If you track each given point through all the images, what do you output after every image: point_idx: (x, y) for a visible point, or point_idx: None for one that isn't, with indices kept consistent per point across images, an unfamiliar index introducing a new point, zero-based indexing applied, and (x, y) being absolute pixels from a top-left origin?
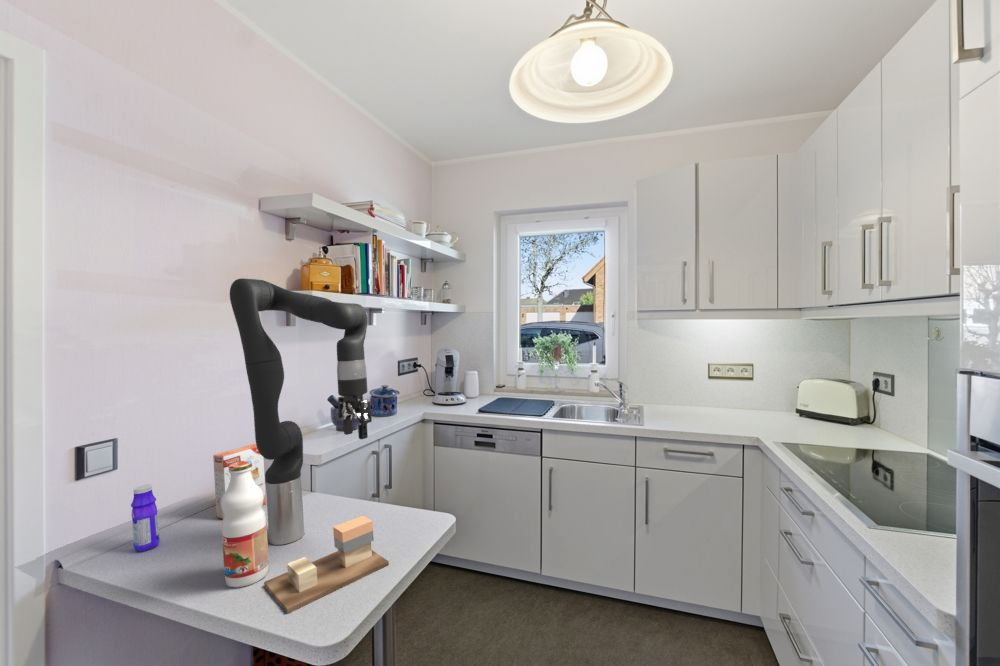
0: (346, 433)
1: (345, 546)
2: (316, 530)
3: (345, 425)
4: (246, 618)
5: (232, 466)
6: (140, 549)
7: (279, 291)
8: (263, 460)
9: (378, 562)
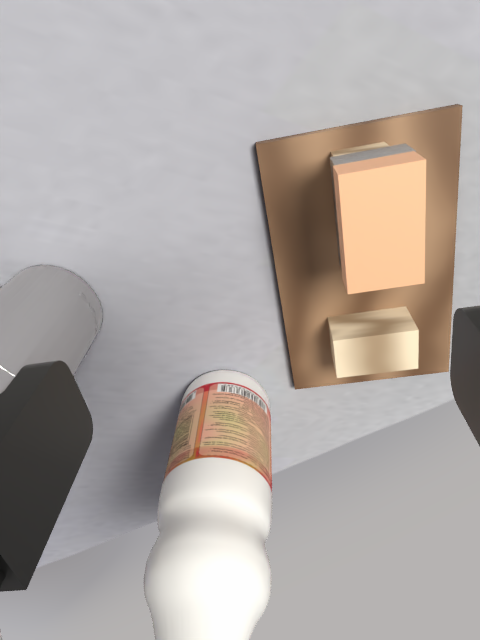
0: (86, 428)
1: None
2: (48, 230)
3: (44, 522)
4: (391, 418)
5: None
6: None
7: None
8: None
9: (441, 138)
